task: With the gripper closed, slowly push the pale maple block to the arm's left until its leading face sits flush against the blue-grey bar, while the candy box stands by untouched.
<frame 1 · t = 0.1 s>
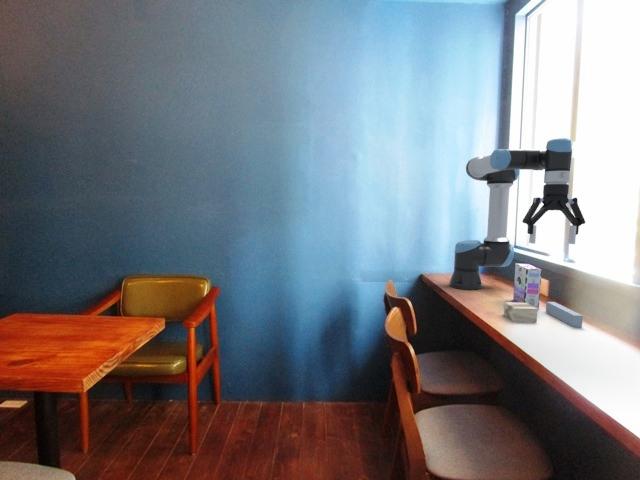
hand: (551, 243, 129), 28 cm above the counter, fingers open, 13 cm apart
blue-grey bar: (562, 318, 132), on the counter
block: (519, 318, 133), on the counter
candy box: (525, 304, 151), on the counter
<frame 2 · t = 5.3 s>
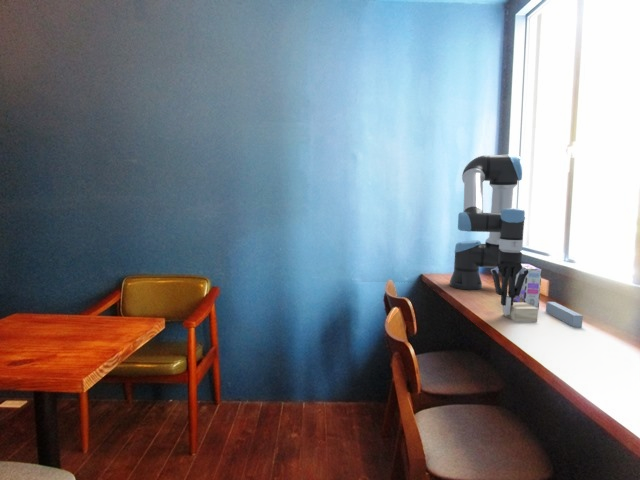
hand: (506, 313, 133), 1 cm above the counter, fingers closed
block: (519, 318, 133), on the counter, touching gripper
everything else where it was.
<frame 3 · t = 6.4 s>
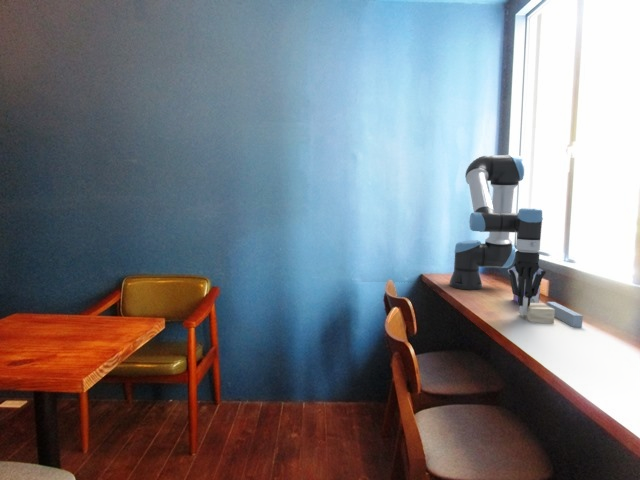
hand: (522, 314, 133), 1 cm above the counter, fingers closed
block: (536, 319, 132), on the counter, touching gripper
everything else where it was.
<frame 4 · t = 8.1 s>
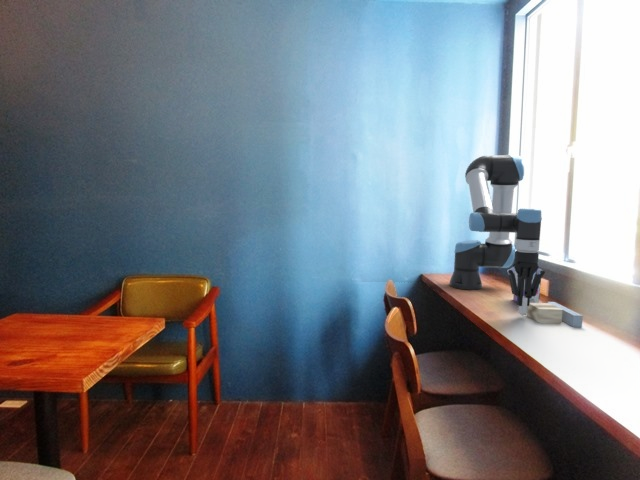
hand: (522, 314, 133), 1 cm above the counter, fingers closed
block: (543, 319, 132), on the counter
everything else where it was.
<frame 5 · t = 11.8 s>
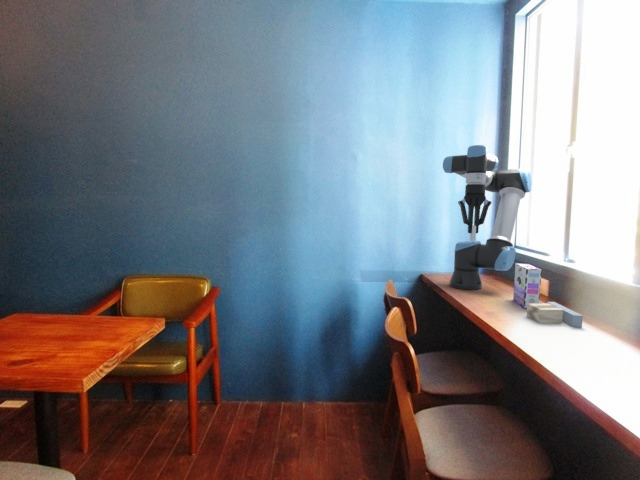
hand: (472, 241, 150), 26 cm above the counter, fingers closed
nothing on the counter moved.
at the end: block inside the target area on the counter beside the blue-grey bar (1.2 cm from its centre), on the counter; block tilted 0° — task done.
